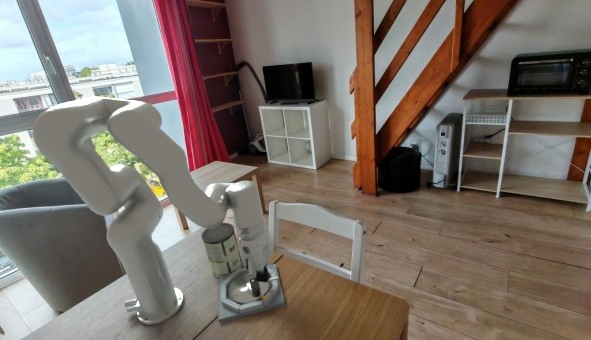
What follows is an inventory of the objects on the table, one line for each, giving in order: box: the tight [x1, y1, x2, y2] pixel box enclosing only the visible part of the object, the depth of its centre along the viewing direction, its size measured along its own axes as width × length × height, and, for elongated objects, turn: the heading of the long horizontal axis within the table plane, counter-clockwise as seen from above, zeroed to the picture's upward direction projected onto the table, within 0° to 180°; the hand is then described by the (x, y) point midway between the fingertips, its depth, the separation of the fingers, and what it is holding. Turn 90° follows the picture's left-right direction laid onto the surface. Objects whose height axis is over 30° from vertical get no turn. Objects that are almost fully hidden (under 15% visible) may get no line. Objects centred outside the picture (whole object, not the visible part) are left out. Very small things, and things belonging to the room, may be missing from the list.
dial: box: [229, 272, 270, 305], centre depth 86 cm, size 12×12×6 cm
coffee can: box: [201, 222, 243, 278], centre depth 97 cm, size 10×10×14 cm
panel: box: [218, 263, 286, 324], centre depth 87 cm, size 18×17×3 cm
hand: (263, 279), depth 85 cm, fingers closed
